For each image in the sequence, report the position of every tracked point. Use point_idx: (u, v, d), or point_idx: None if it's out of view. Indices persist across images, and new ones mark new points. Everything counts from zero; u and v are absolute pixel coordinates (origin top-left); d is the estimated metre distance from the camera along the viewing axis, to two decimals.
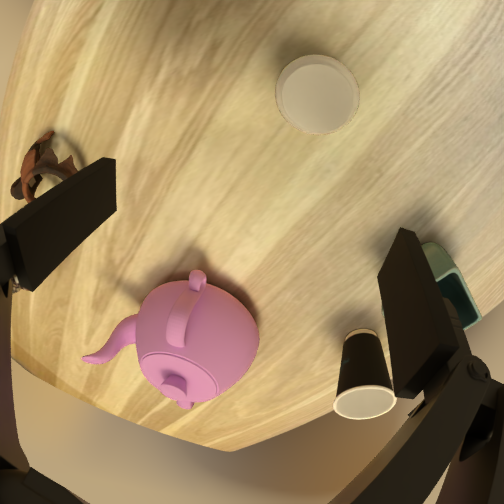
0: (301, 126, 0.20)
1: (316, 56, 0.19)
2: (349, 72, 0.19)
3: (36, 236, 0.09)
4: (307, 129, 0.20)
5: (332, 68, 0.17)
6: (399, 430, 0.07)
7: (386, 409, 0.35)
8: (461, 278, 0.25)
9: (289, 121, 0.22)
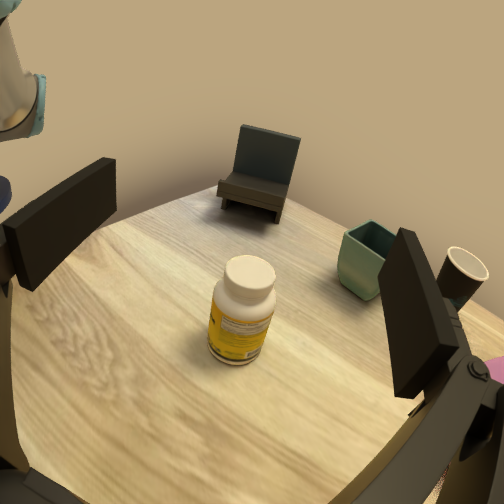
0: (272, 281, 0.29)
1: (215, 288, 0.31)
2: None
3: (36, 236, 0.09)
4: (274, 278, 0.29)
5: (228, 261, 0.30)
6: (399, 430, 0.07)
7: (465, 252, 0.43)
8: (350, 230, 0.44)
9: (267, 309, 0.29)
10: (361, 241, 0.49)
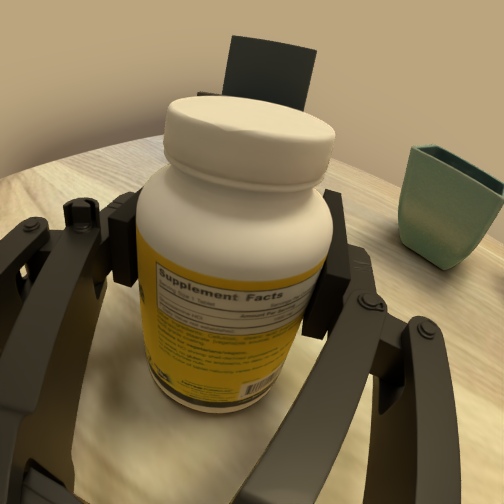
0: (329, 134, 0.08)
1: (145, 184, 0.09)
2: None
3: None
4: (332, 131, 0.08)
5: (185, 99, 0.09)
6: None
7: None
8: (417, 146, 0.23)
9: (315, 239, 0.08)
10: None
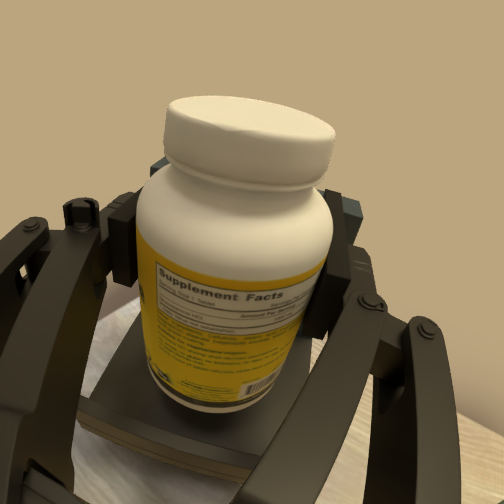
0: (329, 133, 0.08)
1: (145, 184, 0.09)
2: None
3: None
4: (332, 131, 0.08)
5: (185, 98, 0.09)
6: None
7: None
8: None
9: (315, 239, 0.08)
10: None
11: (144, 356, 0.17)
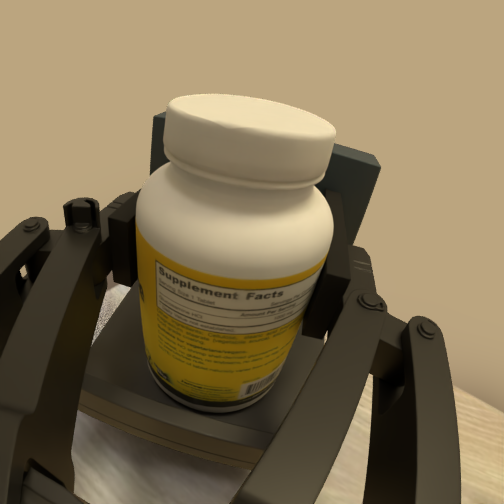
0: (329, 131, 0.08)
1: None
2: None
3: None
4: (332, 129, 0.08)
5: None
6: None
7: None
8: None
9: (315, 237, 0.08)
10: None
11: (140, 325, 0.15)
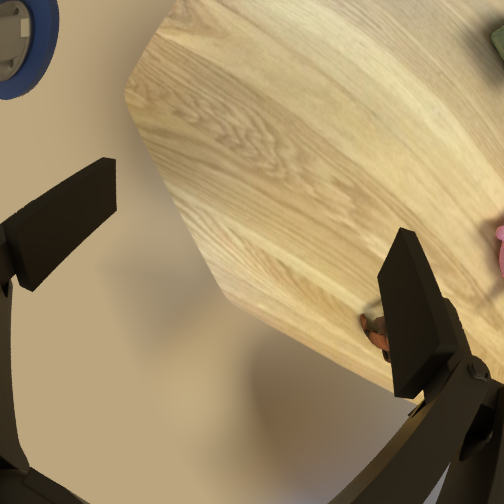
0: None
1: None
2: None
3: (36, 236, 0.09)
4: None
5: None
6: (399, 430, 0.07)
7: None
8: None
9: None
10: None
11: None
